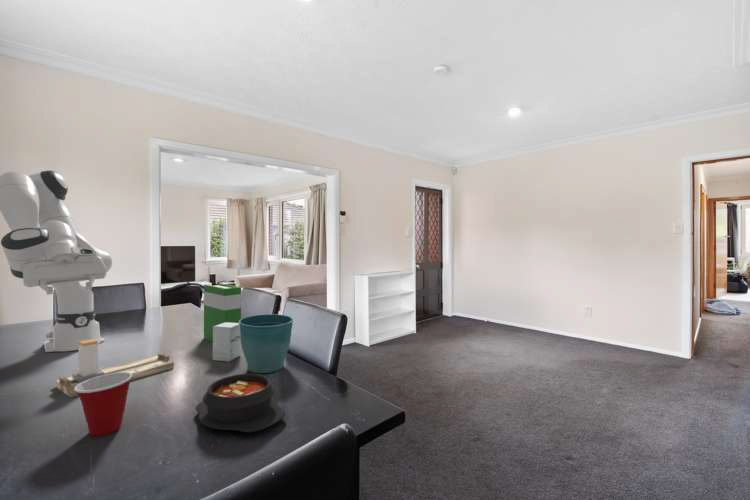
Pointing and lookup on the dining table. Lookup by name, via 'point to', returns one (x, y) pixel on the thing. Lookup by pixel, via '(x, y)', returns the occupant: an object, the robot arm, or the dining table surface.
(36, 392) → the dining table surface
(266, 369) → the flower pot
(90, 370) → the fader handle
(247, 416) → the casserole
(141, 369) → the fader console
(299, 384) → the dining table surface
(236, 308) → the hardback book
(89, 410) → the plastic cup
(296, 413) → the dining table surface
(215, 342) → the supplement box
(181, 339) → the dining table surface
